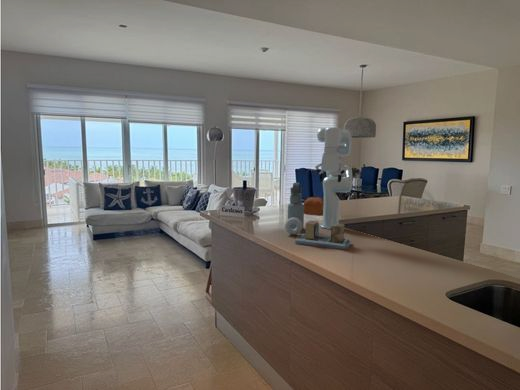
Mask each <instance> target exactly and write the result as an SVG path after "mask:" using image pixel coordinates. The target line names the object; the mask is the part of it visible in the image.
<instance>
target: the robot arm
mask: <svg viewBox="0 0 520 390" xmlns="http://www.w3.org/2000/svg"><path fill="white" fill-rule="evenodd" d="M316 136H317V140H318V142H319V143H320V142H321V143H324V147H323V148H324V149H323V153H322V158H321V163H320V164H317V165H314V166H315V170H316V172H317V174H319V181H320V182H322V187H323V188H322V191H323V201H324V205H323V212H322V216H323V217H322V223H321V224H319V228H323V229H329V230H331V227H332V226H333V225H334V224H335V223H340V222H339V220H340V219H339V218H340V217H339V216H340V214H339V213H340V198H339V197H338V195H337V193H350V192H351V191H352V189H353V170H352V167H351V166H350V165H344V164H342V161H341V160H342V159H341V157H348V156H350V155H351V153H352V143H353V142H352V133H351V131H350V130H348V129H342V128H339V127H320V128H319V129H318V130H317V134H316ZM324 172H326V173H325V175H326V177H324V174H323V173H324Z"/></svg>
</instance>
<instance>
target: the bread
mask: <svg viewBox="0 0 520 390" xmlns="http://www.w3.org/2000/svg"><path fill="white" fill-rule="evenodd" d="M303 205H304V215H312V216H313V215H314V216H321V215H323V205H324V198H321V197H318V196H317V197H314V196H311V197H307V198H306V200H305V201H303Z"/></svg>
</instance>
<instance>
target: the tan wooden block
mask: <svg viewBox="0 0 520 390" xmlns="http://www.w3.org/2000/svg"><path fill="white" fill-rule="evenodd" d="M330 237H331V240H332V242H335V243H342V242H343V241H344V238H345V223H342V222H338V223H335V224H334V225H333V226H332V227H331V229H330Z"/></svg>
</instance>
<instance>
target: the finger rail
mask: <svg viewBox="0 0 520 390" xmlns="http://www.w3.org/2000/svg"><path fill="white" fill-rule="evenodd" d="M294 241H295V243H294V244H295V245H303V246H311V247H312V246H313V247H321V248H329V249H334V250H335V249H336V250H344V251H347V250H348V249H349V248H350V246H351V245H352V240H350V238H346V237H344V241H343V242H342V243H335V242H332V240H331V236H327V235H320V223H319V220H309V221H307V222H305V233H302V234H301V236H299V237H296V238H295V240H294Z"/></svg>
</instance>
